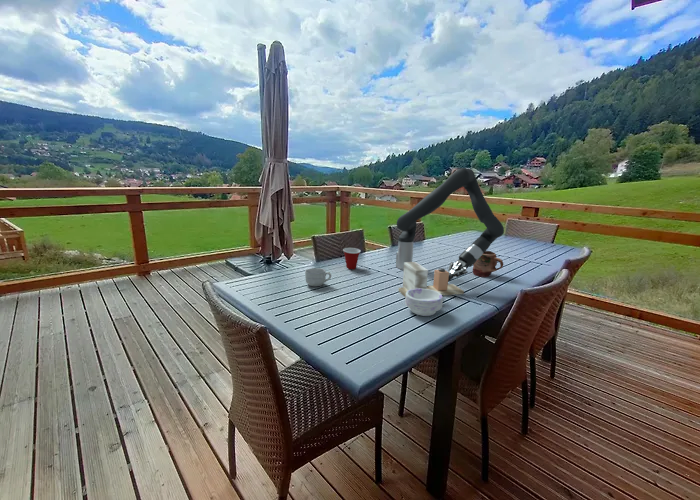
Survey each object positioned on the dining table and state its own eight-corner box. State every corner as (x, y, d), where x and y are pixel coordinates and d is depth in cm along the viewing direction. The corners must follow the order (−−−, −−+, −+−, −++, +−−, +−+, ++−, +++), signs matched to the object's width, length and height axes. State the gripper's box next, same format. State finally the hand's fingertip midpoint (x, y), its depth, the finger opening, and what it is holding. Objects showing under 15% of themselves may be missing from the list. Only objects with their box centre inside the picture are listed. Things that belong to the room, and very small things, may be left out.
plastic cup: (353, 272, 177) (353, 252, 175) (339, 268, 184) (339, 249, 181) (363, 268, 186) (364, 249, 183) (350, 264, 192) (350, 246, 189)
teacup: (301, 286, 154) (300, 271, 152) (313, 280, 163) (312, 266, 161) (323, 291, 147) (323, 275, 146) (335, 284, 157) (335, 269, 155)
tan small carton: (442, 286, 151) (443, 267, 148) (447, 289, 146) (449, 270, 144) (433, 286, 150) (434, 267, 147) (438, 290, 145) (439, 270, 143)
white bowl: (414, 301, 136) (416, 284, 134) (447, 310, 127) (448, 293, 125) (397, 312, 125) (398, 294, 123) (431, 323, 115) (433, 304, 114)
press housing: (450, 285, 157) (453, 259, 154) (466, 295, 144) (469, 267, 140) (397, 289, 151) (398, 262, 147) (407, 299, 137) (409, 271, 134)
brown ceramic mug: (506, 277, 171) (509, 254, 167) (497, 282, 163) (500, 257, 160) (473, 269, 185) (475, 247, 182) (463, 273, 178) (465, 250, 174)
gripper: (459, 247, 152) (435, 271, 153) (474, 253, 140) (448, 279, 140) (467, 256, 155) (443, 280, 155) (483, 263, 142) (458, 289, 143)
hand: (446, 280), depth 148 cm, fingers closed
